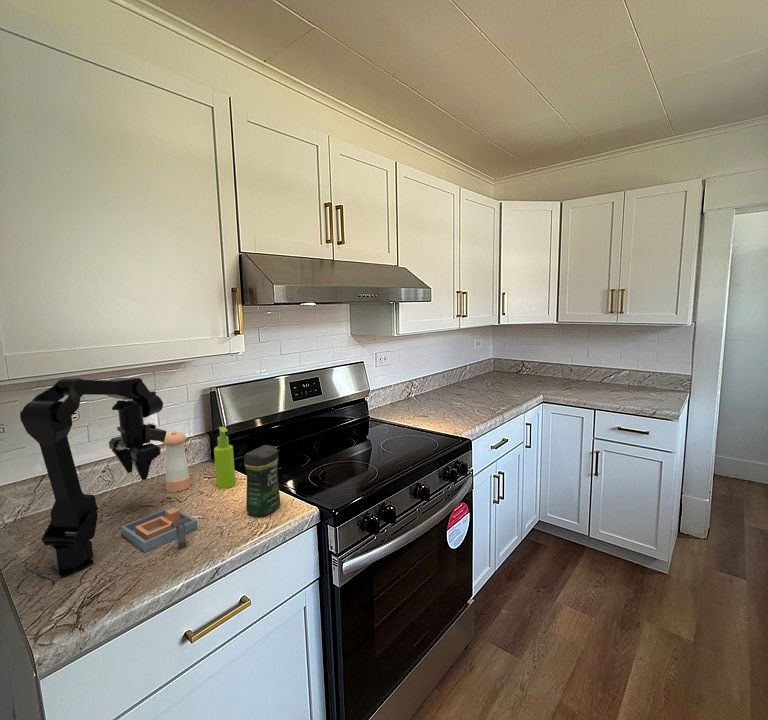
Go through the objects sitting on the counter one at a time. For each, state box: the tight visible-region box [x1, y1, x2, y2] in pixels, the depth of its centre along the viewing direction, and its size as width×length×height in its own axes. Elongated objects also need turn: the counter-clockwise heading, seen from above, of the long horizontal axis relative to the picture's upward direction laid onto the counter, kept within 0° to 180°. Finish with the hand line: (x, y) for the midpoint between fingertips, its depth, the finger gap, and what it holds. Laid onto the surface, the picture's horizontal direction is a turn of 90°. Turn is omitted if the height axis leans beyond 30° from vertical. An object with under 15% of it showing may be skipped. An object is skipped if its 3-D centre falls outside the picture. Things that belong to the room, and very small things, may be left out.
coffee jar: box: [243, 444, 281, 517], centre depth 122 cm, size 10×8×19 cm
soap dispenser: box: [213, 426, 236, 490], centre depth 139 cm, size 6×7×20 cm
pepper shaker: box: [162, 430, 191, 493], centre depth 138 cm, size 7×7×19 cm
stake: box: [171, 517, 189, 549], centre depth 104 cm, size 4×2×7 cm, turn 143°
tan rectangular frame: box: [135, 507, 181, 541], centre depth 112 cm, size 10×7×4 cm
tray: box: [120, 506, 199, 553], centre depth 112 cm, size 13×13×2 cm
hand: (137, 476), depth 119 cm, fingers open, 9 cm apart
